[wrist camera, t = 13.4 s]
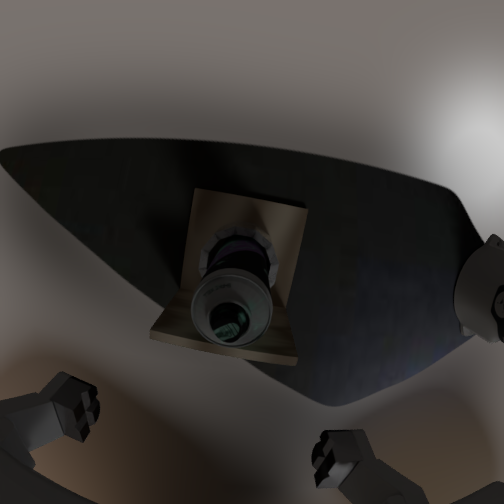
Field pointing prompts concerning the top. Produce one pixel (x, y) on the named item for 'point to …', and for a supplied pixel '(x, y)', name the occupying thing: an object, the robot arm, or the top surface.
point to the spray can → (234, 295)
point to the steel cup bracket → (245, 230)
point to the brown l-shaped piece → (199, 232)
